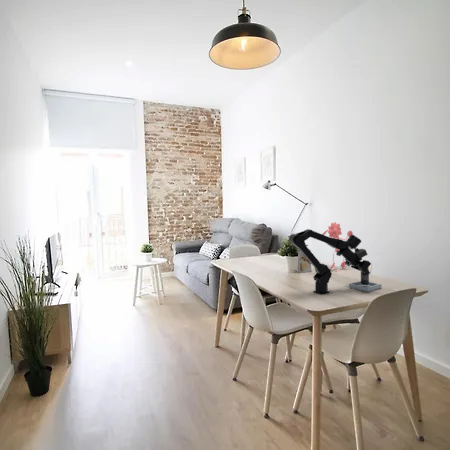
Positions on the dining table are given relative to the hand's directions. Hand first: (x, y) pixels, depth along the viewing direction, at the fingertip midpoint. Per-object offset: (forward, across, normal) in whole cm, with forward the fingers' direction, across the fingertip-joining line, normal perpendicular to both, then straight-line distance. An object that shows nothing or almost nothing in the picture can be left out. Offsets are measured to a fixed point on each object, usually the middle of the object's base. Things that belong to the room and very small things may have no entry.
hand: (366, 272), depth 192 cm
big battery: (+4, 0, +6) cm, 7 cm away
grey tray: (+6, 0, +7) cm, 9 cm away
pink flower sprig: (+12, +52, +2) cm, 53 cm away
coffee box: (-6, +53, +19) cm, 56 cm away
